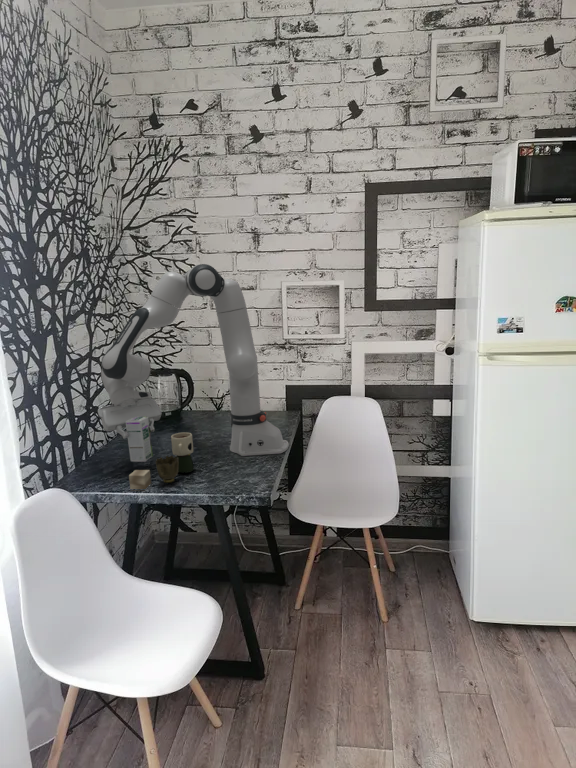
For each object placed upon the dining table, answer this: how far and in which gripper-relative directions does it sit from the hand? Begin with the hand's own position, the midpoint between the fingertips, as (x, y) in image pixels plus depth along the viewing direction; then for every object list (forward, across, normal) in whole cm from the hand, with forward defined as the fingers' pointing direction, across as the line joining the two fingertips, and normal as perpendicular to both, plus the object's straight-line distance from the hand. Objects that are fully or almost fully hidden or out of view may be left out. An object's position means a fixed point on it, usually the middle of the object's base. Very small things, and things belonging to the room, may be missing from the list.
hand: (139, 434), depth 189 cm
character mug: (+16, +11, +4) cm, 20 cm away
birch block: (+18, -6, +2) cm, 19 cm away
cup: (+20, +2, 0) cm, 21 cm away
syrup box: (+6, 0, +7) cm, 9 cm away
